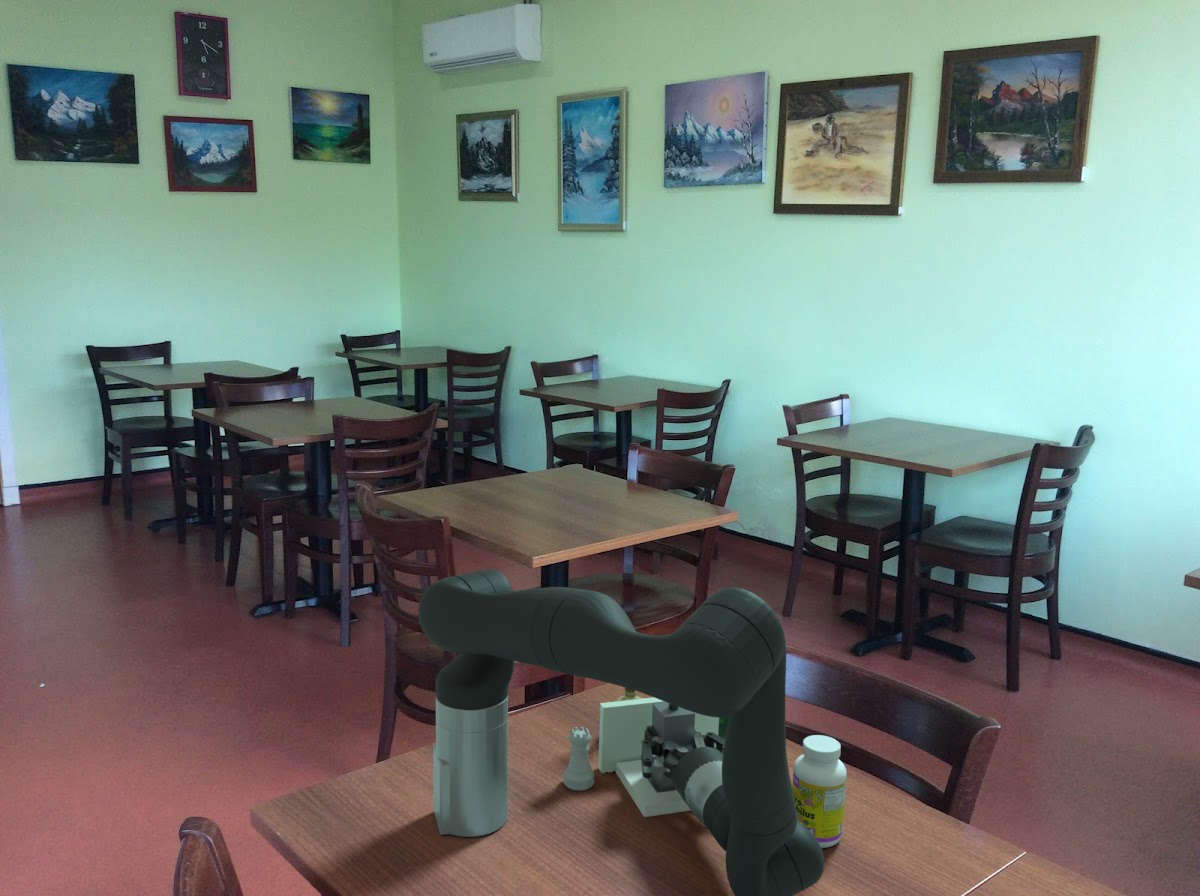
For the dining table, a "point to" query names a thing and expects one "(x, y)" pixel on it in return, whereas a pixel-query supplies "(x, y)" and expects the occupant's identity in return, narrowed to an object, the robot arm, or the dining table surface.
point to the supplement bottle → (820, 789)
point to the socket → (638, 752)
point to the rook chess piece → (579, 762)
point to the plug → (671, 733)
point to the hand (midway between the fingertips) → (665, 730)
